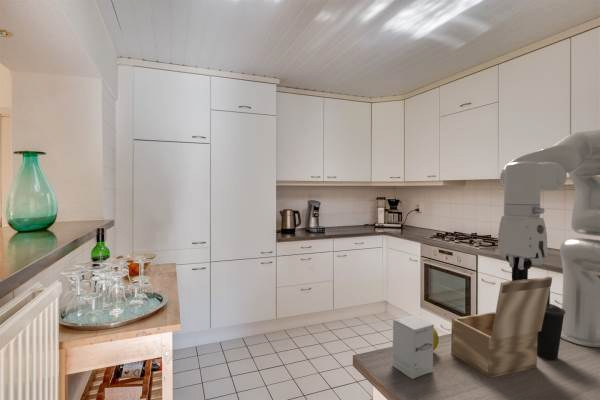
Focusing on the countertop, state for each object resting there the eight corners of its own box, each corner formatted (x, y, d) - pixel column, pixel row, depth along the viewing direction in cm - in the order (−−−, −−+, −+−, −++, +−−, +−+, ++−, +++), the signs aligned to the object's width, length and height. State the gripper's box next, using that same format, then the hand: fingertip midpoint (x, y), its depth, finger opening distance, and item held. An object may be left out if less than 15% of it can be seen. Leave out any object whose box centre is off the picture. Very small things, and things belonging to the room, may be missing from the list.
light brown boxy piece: (493, 344, 98) (494, 311, 98) (536, 366, 86) (537, 329, 85) (451, 352, 93) (451, 318, 93) (490, 377, 81) (491, 338, 80)
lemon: (440, 357, 90) (440, 329, 90) (419, 355, 91) (419, 327, 91) (436, 348, 96) (436, 321, 95) (416, 346, 97) (416, 320, 96)
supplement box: (412, 380, 80) (413, 329, 79) (391, 365, 86) (392, 318, 86) (433, 372, 83) (434, 324, 83) (411, 359, 90) (412, 314, 89)
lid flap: (549, 276, 83) (552, 277, 82) (538, 329, 86) (541, 331, 85) (501, 282, 77) (503, 283, 77) (490, 338, 80) (493, 340, 80)
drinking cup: (527, 356, 91) (529, 286, 91) (532, 346, 97) (534, 280, 96) (562, 366, 86) (565, 292, 85) (565, 355, 92) (567, 285, 91)
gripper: (564, 213, 75) (561, 291, 76) (505, 209, 89) (503, 275, 90) (540, 214, 73) (538, 294, 74) (484, 209, 87) (482, 277, 88)
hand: (519, 283), depth 82 cm, fingers closed
